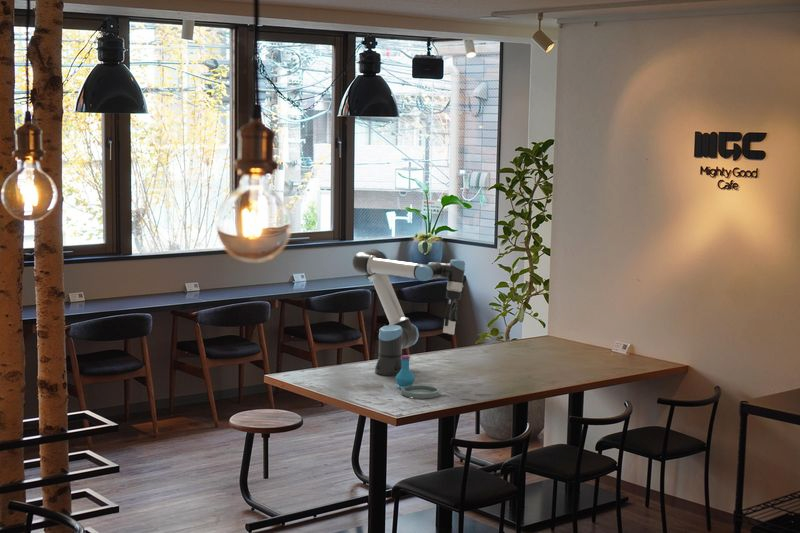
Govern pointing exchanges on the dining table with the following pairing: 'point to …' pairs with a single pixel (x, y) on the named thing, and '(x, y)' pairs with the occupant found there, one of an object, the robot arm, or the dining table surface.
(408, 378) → the perfume bottle
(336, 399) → the dining table surface
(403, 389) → the round dish
